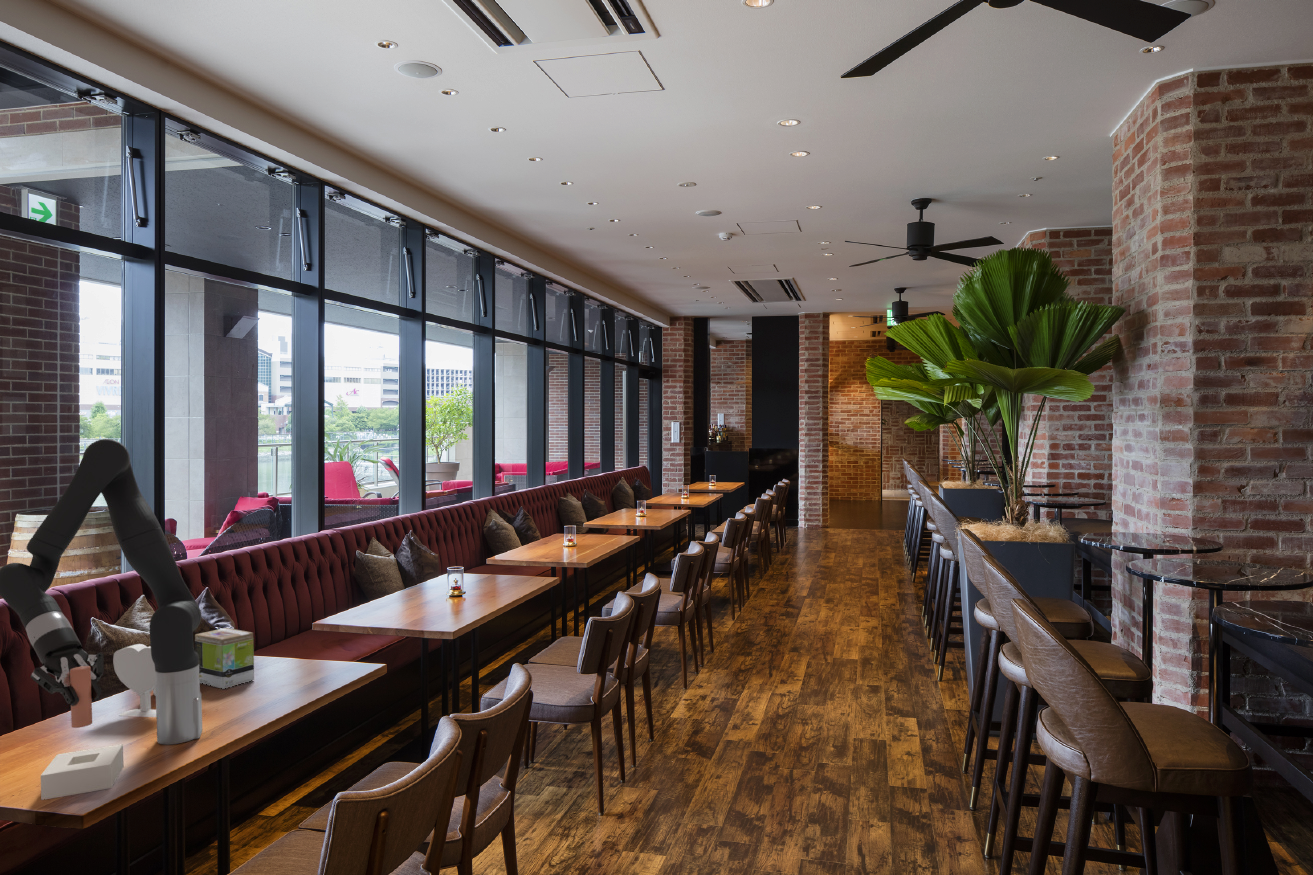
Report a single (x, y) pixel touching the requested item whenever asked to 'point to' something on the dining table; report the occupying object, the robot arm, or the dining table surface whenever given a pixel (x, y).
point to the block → (82, 771)
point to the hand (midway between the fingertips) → (86, 699)
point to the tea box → (225, 657)
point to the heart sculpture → (137, 676)
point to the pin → (81, 696)
